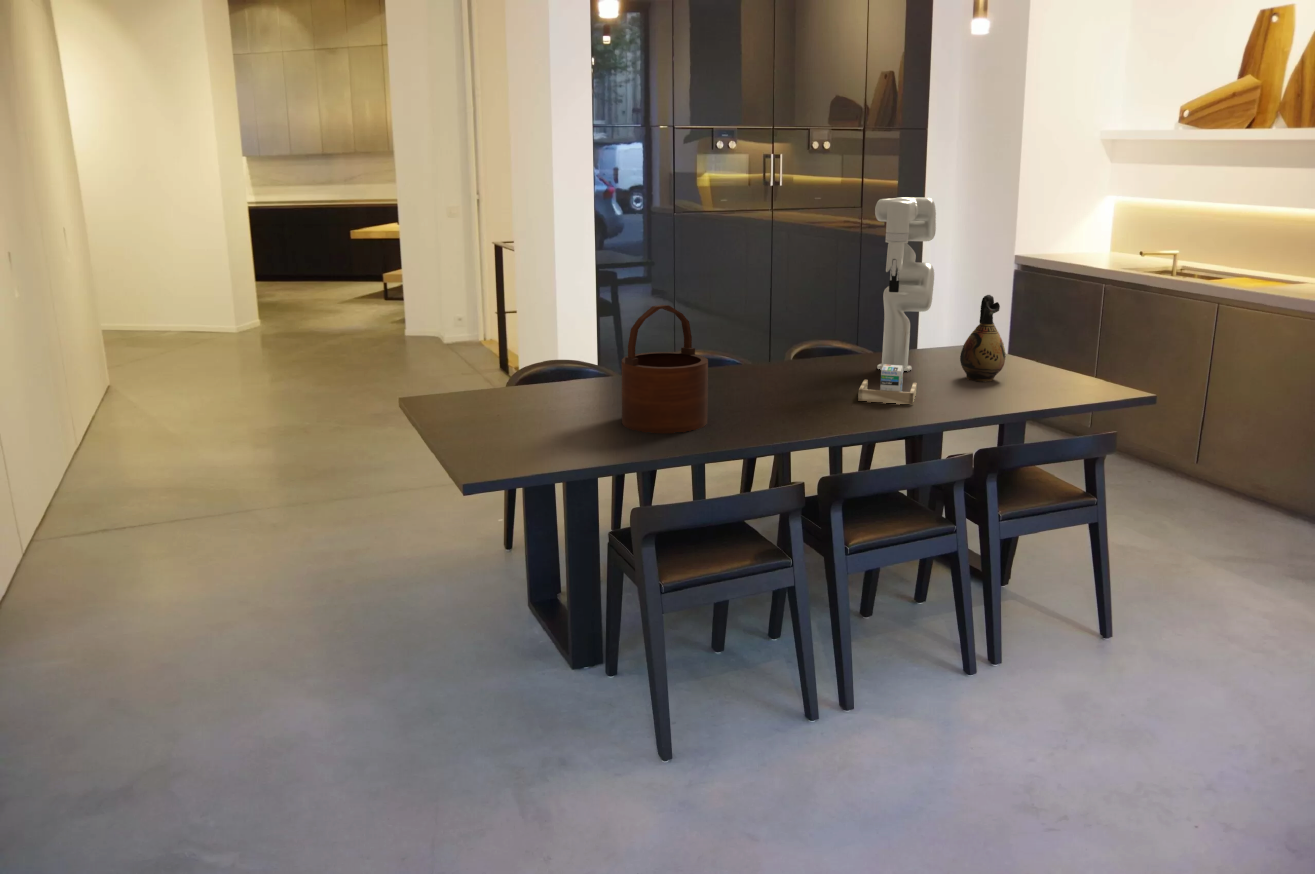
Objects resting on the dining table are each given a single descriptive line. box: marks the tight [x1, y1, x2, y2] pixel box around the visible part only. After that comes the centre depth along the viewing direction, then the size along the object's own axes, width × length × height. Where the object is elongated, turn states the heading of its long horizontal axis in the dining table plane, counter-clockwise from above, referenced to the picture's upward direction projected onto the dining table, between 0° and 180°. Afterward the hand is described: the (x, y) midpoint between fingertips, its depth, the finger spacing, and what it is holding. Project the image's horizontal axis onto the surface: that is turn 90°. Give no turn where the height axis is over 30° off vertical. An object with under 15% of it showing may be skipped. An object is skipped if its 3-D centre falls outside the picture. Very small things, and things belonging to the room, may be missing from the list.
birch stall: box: [857, 379, 918, 406], centre depth 339 cm, size 16×17×4 cm
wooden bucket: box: [621, 304, 709, 434], centre depth 304 cm, size 26×26×35 cm
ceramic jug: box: [959, 294, 1007, 383], centre depth 365 cm, size 17×15×30 cm
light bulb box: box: [879, 364, 904, 392], centre depth 336 cm, size 11×7×11 cm, turn 164°
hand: (893, 292), depth 354 cm, fingers closed
